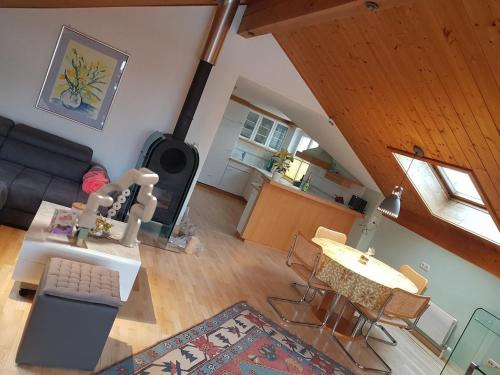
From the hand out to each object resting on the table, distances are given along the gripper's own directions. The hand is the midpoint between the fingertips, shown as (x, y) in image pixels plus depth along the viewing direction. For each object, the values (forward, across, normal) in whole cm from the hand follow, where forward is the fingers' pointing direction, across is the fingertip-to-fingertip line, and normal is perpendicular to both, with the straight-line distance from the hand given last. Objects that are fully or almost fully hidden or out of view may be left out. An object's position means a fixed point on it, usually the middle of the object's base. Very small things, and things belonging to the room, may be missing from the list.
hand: (81, 236), depth 255 cm
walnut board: (+7, 0, -5) cm, 9 cm away
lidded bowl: (+7, -9, -56) cm, 57 cm away
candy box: (+7, +9, -17) cm, 21 cm away
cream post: (+7, 0, 0) cm, 7 cm away
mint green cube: (+1, 0, 0) cm, 1 cm away
